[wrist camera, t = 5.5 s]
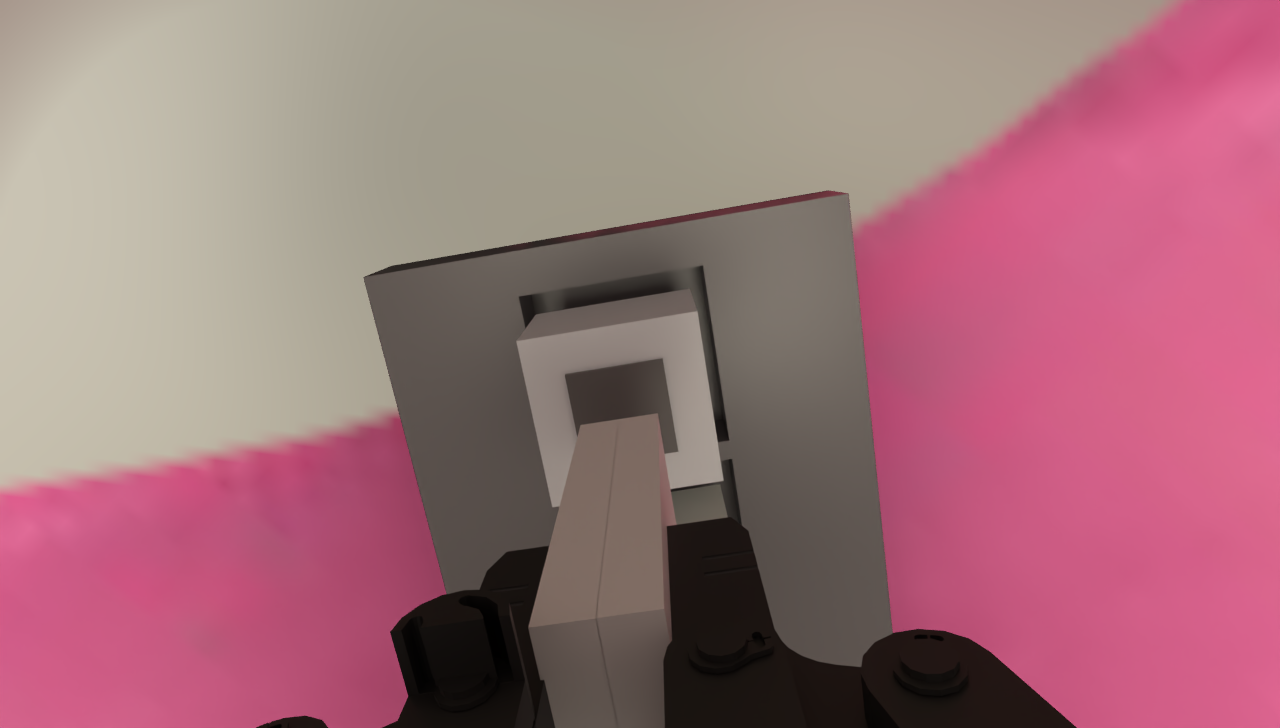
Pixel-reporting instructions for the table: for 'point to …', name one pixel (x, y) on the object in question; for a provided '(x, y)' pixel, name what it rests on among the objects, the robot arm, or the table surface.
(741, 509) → the keypad
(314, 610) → the table surface
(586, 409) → the key
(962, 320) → the table surface
